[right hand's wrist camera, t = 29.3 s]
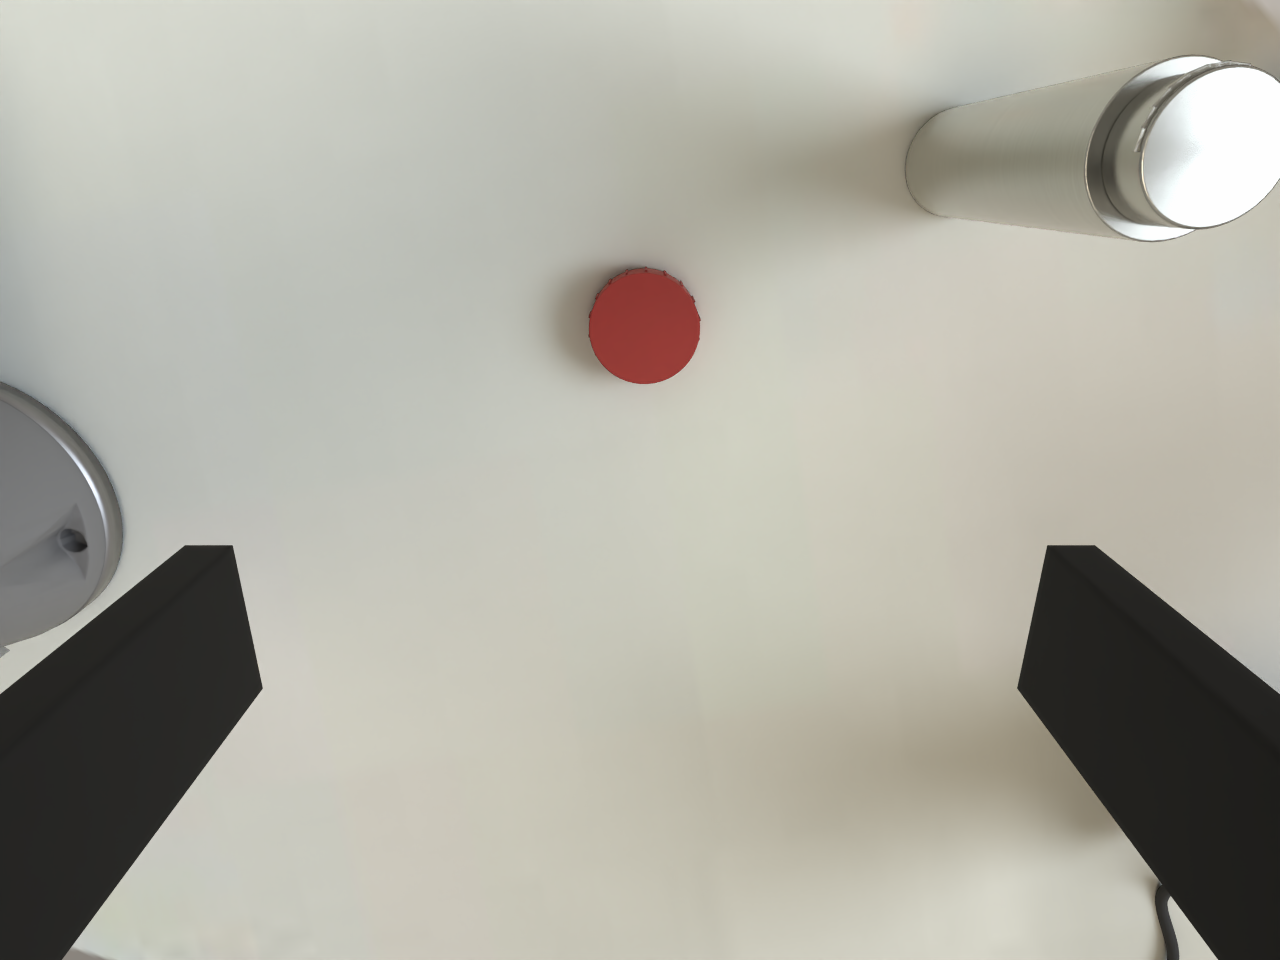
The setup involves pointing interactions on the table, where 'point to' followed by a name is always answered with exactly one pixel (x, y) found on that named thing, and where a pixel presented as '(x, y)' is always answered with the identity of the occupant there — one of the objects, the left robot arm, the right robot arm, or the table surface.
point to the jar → (1108, 152)
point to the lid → (644, 326)
